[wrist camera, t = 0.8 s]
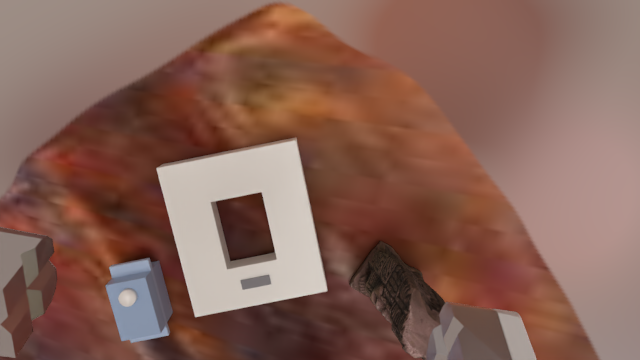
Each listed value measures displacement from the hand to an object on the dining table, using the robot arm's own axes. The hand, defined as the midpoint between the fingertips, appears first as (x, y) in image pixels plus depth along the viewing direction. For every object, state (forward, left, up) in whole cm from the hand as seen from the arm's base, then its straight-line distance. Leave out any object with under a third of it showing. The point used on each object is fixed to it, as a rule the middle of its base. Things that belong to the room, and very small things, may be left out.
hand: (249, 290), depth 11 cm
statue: (-18, -7, -45) cm, 48 cm away
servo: (-15, +19, -45) cm, 51 cm away
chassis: (-10, +7, -44) cm, 46 cm away
